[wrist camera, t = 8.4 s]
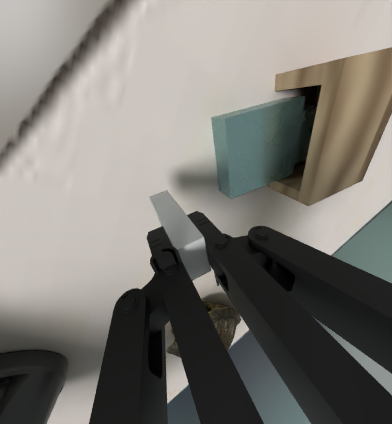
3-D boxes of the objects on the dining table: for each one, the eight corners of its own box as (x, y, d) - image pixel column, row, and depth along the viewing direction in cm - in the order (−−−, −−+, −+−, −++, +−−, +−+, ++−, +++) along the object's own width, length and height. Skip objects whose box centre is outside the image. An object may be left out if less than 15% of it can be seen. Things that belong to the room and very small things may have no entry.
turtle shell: (209, 369, 42) (160, 398, 27) (193, 331, 48) (146, 338, 33) (258, 329, 41) (237, 337, 26) (236, 296, 47) (208, 287, 32)
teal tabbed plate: (219, 190, 23) (230, 198, 21) (210, 117, 18) (224, 118, 16) (296, 160, 26) (314, 165, 24) (307, 91, 21) (332, 88, 19)
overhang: (267, 186, 26) (308, 206, 21) (276, 74, 18) (345, 57, 13) (314, 167, 28) (362, 180, 23) (339, 60, 20) (423, 40, 15)
